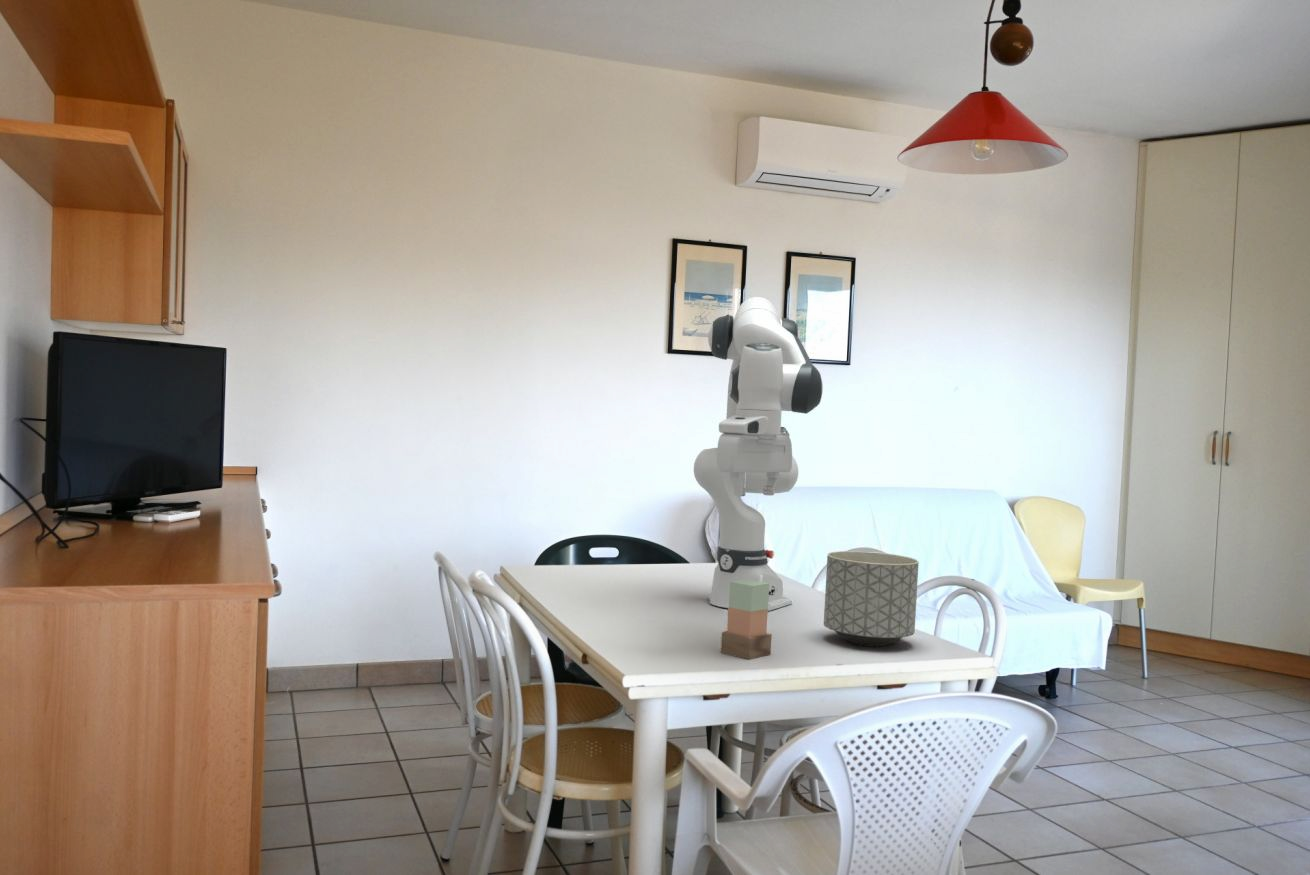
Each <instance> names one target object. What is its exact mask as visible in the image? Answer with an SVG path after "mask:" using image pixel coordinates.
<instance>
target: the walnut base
mask: <svg viewBox="0 0 1310 875" xmlns="http://www.w3.org/2000/svg"><path fill="white" fill-rule="evenodd" d="M772 636H773V635H772V634H771V633H768V632H766V634H764V635H759V636H754V637H745V636H741V635H737V634H732V633H728V632H727V630H726V631H721V641H720V653H722V654H726V655H729V656H734V657H737V658H741V659H746V660H753V659H758V658H761V657H765V656H770V655H772V639H773V638H772Z"/></svg>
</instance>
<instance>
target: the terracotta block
mask: <svg viewBox="0 0 1310 875" xmlns="http://www.w3.org/2000/svg"><path fill="white" fill-rule="evenodd" d="M768 612H769V611H768V609H764V610H758V611H753V612H750V611H745V610H740V609H736V608H731V607H728V608H727V624H726V626H727V627H726V631H727V632H728V633H732V634H737V635H741V636H745V637H754V636H759V635H764V634H766V633H767V629H768V628H767V627H768V626H767V625H768Z"/></svg>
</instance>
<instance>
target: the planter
mask: <svg viewBox="0 0 1310 875" xmlns="http://www.w3.org/2000/svg"><path fill="white" fill-rule="evenodd" d="M826 558H827V559H826V573H825V574H826V575H825V576H826V578H825V594H824V596H825V597H824V608H823V609H824V610H823V612H824V613H823V626H824V627H825V628H827V629H828V630H832V631H834V632H835V633H836V634H837V635H838V636H839V637H841V638H842V639H844V640H845V641H848V642H850V643H852V644H855V645H860V646H866V647H883V646H884V647H885V646H888V645H891V644H894V643H897V642H898V641H900V640H901V639H903V638H906V637H910V636H913V635H914V634H915V632H916V630H915V629H916V617H917V616H916V615H917V614H916V612H917V597H918V595H917V594H918V581H919V580H918V579H919V562H920V561H919V560H918V559H916V558H913V557H909V556H905V555H900V554H893V553H887V552H885V553H884V552H874V551H863V550H862V551H857V550H848V551H847V550H846V551H845V550H843V551H842V550H841V551H831V552H829V553H827V556H826Z"/></svg>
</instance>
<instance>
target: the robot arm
mask: <svg viewBox="0 0 1310 875" xmlns="http://www.w3.org/2000/svg"><path fill="white" fill-rule="evenodd" d="M798 327H799V326H798V324H797V323H796V321H795V320H792V319H790V318H786V317H781V318H780V315H779V312H778V311H777V308H776V307H775V306H774V304H773V303H772V302H771V301H770V300H769V299H767V298H765V297H762V296H761V297H760V296H753V297H750V298H747V299H746V300H744V301H743V302H742V303H741V304H740V305H739V307H738V308H737V310H736V313H735V315H730V314H726V315H722V316H718V317H717V318H715V320H713V322H712V324H711V326H710V328H709V331H708V336H707V342H708V346H709V349H710V352H711V354H712V355H713V356H714V358H718V359H721V360H724V361H725V360H728V359H729V360H732V363H731V366H730V371H729V377H728V386H727V400H726V401H727V402H726V418H725V419H723V420H721V421H719V424H718V432H719V433H721V434H720V435H719V438H718V442H717V447H712V448H706V449H703V450H701V451H700V452H699V453H698V455H697V456H696V458H695V460H694V463H693V474H694V478H695V481H696V482H697V484H698V485H699V486H700V487H701V488H702V489H704V490H705V491H706V492H707V493H708V495H709V496H710V497H711V499H712V500H713V502H714V504H715V506H716V509H717V512H718V519H719V545H718V546H717V551H716V561H717V565H716V567H714V571H713V578H712V584H711V592H710V594H708V597H707V599H708V600H709V604H711V605H713V606H717V607H720V608H724V609H728V607H729V593H730V582H731V581H739V580H746V579H748V580H753V581H759V582H764V583H769V601H768V612H770V611H773V610H776V609H779V608H782V607H785V606H788V605H791V604H793V600H792V599H791V598H788V597H786V596H784V585H783V584H784V583H783V580H782V578H781V577H780V576H779V575H778V574H777V573H776V572H775V571H774V570H773V569H772V568H771V567H770V566H769V565H768V563H769V561H768V559H774V556H775V552H774V550H769V549H765V534H766V532H765V531H766V520H765V518H764V516H763V514H762V513H761V512H760V511H759V510H757V509H755V508H754V507H752V506H751V505H748V504H746V503H745V502H744V501H743V499H742V497H745V496H746V493H748V494H762V495H764V496H770V497H771V496H775V494H783V493H789V492H790V491H791V490H793V487H795V485H796V483H797V481H798V478H799V467H798V463H797V461H796V459H795V458H794V456H793V448H792V446H793V445H792V441H791V438H790V433H789V432H788V430H787V428H786V427H785V426H782V413H783V412H792V413H797V414H798V413H799V414H806V415H807V414H808V413H810V412H812V411H813V410H815V409H816V408H817V407H818V406H819V405H820V403H821V400H822V397H823V390H824V389H823V388H824V384H823V380H822V376H821V372H820V371H819V370H818V369H817V367H816V366H815V365H814V364H813V362H812V360H811V359H810V356H809V354H808V353H807V350H806V349H805V346H804V344H803V342H802V341H801V332H800V330H799V328H798ZM782 411H783V412H782Z"/></svg>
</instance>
